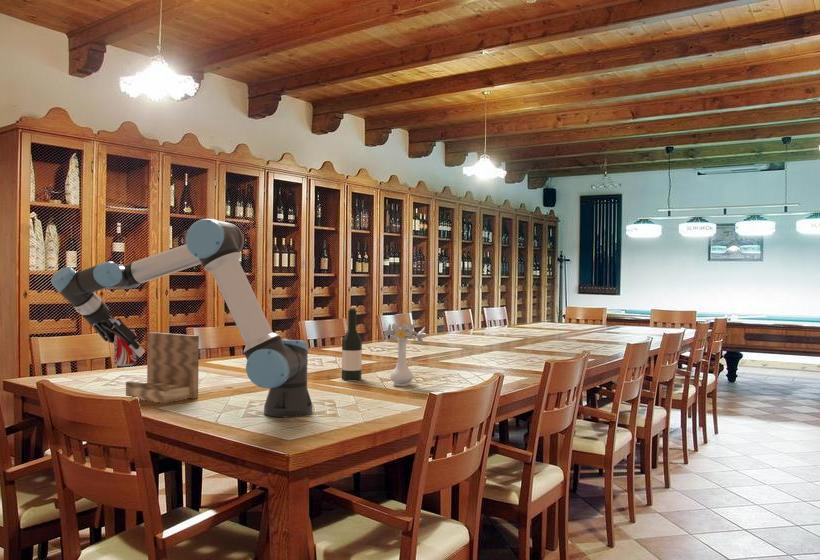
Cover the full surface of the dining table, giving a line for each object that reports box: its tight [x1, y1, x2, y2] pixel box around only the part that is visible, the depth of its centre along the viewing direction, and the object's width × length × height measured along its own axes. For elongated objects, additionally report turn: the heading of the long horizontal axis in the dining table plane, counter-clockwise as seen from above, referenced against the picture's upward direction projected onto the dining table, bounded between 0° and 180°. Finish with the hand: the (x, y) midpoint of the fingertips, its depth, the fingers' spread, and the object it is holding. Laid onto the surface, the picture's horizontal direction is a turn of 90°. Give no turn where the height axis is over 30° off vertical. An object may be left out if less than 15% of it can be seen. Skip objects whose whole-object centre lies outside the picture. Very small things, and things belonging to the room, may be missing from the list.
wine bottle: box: [341, 307, 363, 381], centre depth 269 cm, size 8×8×30 cm
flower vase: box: [381, 322, 427, 387], centre depth 257 cm, size 13×18×25 cm
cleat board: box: [125, 331, 200, 404], centre depth 224 cm, size 24×12×22 cm, turn 61°
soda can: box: [113, 328, 138, 367], centre depth 217 cm, size 7×7×12 cm
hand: (134, 353), depth 220 cm, fingers closed on soda can, 7 cm apart
